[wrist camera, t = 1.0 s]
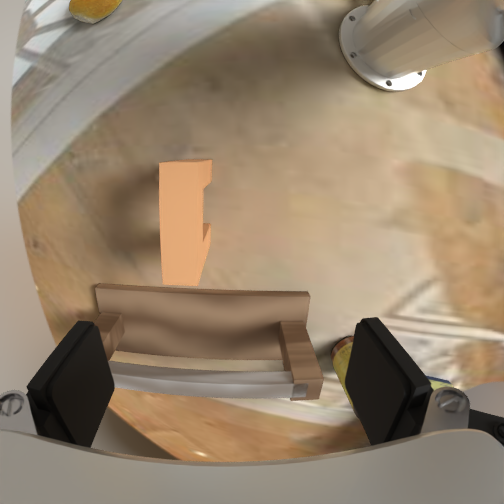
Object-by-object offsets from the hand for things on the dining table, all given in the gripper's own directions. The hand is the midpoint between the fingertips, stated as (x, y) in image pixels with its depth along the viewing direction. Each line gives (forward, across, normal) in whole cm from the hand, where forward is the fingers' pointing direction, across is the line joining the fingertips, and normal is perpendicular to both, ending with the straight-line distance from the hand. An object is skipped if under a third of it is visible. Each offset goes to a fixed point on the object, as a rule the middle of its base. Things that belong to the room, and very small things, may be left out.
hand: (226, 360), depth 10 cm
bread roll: (+27, +18, -31) cm, 45 cm away
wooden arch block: (+27, +4, -2) cm, 27 cm away
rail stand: (+27, +4, +14) cm, 31 cm away
